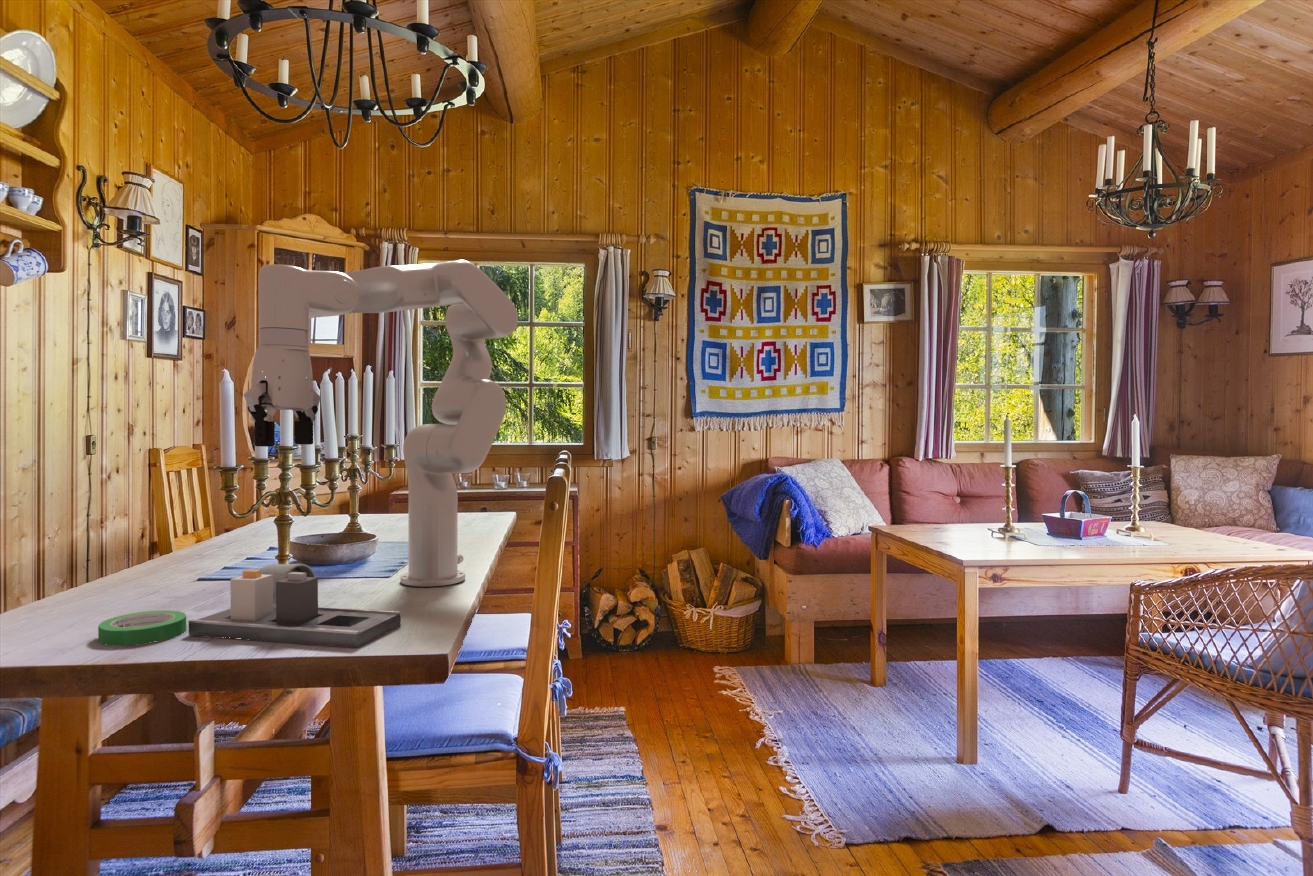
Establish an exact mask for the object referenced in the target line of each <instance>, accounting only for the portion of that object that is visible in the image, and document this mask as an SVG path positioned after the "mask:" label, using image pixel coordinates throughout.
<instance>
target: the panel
mask: <svg viewBox="0 0 1313 876" xmlns="http://www.w3.org/2000/svg"><path fill="white" fill-rule="evenodd" d="M397 627H398V628H399V627H401V611H395V610H382V609H380V610H379V609H368V608H367V609H366V608H364V609H362V608H351V607H350V608H349V607H348V608H346V607H331V606H319V605H318V617H317V618H315V619H312V620H310V621H307V622H305V623H302V624H299V623H284V622H276V604H273V614H272V615H269V616H266V617H263V618H261V619H258V620H255V621H254V620H240V619H231V608H229V609H228V608H227V609H225V610H222V611H219V612H216V613H214V614H210V615H207V616H204V617H201V618H198V619H189V620H188V636H189V637H199V636H209V637H208V638H213V637H221V638H220V639H227V638H229V637H230V638H241V639H249V640H248V641H254V640H255V642H268V641H269V643H283V644H294V645H295V644H297V645H308V646H309V645H311V646H325V647H336V648H337V647H338V648H350V649H351V648H352V649H357V648H360V647H362V646H363V645H366V644H368V643H370V642H371V641H374V640H375V638H376V639H377V637H378V638H379V636H380V637H381V636H384V635H385V633H386V632H388V633H390V632H391V631H394V630H395V628H396V629H397ZM393 629H394V630H393ZM383 634H384V635H383ZM386 634H387V633H386ZM222 637H224V638H222ZM225 637H226V638H225Z"/></svg>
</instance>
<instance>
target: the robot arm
mask: <svg viewBox="0 0 1313 876" xmlns="http://www.w3.org/2000/svg"><path fill="white" fill-rule="evenodd" d="M442 306H443V307H444V306H449V307H448V308H447V310H446V313H445V315H444V317H445V319H444V320H445V327H446V330H447V333H448V335H449V338H450V342H451V346H452V358H451V361H450V363H449V366H448V367H447V369H446V371H445V373H444V376H443V378H442V380H441V382H440V384H439V386H438V388H437V390H436V391H435V394H434V396H433V399H432V403H431V413H432V415H433V418H435V419H436V420H437V421H438V422H440V423H425V424H421V425H419V426H418V425H417V426H416V427H414V428H412V429H411V430H410V431H409V432H408V433H407V435H406V436H405V439H404V441H403V444H402V451H403V452H402V454H403V460H404V465H405V470H406V474H407V475H406V476H407V487H408V489H407V490H408V492H407V493H408V504H407V505H408V507H407V508H408V514H407V515H408V519H407V520H408V521H407V522H408V524H407V525H408V534H407V535H408V538H407V539H408V548H407V549H408V551H407V552H408V571H407V572H405V573H403V574H401V575H400V579H399V580H400V581H399V582H400V583H401V584H403V585H405V586H410V587H421V588H422V587H423V588H424V587H425V588H427V587H432V588H433V587H443V586H450V585H451V586H452V585H456V584H458V583H462V582H463V581H465V579H466V573H465V572H464V571H462V570H460V569H459V570H458V565H459V564H462V563H463V561H464V556H463V555H462V554H459V553H458V534H459V533H458V531H459V530H458V529H459V528H458V520H459V519H458V504H459V503H458V500H459V499H458V496H459V494H458V488H457V485H456V481H455V479H454V476H453V473H454V474H468V473H472V472H474V471H476V470H478V469H479V468H480V467H481V466H482V464H483V463H484V461H485V460H486V459H487V456H488V454H489V452H490V449H491V448H492V445H493V443H494V441H495V439H496V436H497V435H498V432H499V429H500V427H501V425H502V423H503V421H504V418H505V415H506V409H507V400H506V399H507V398H506V395H505V392H504V390H503V388H502V387H501V385H500V384H498V383H497V382H496V381H493V380H492V379H489V378H490V377H491V374H492V368H493V364H492V363H493V362H492V358H491V356H490V353H489V350H488V348H487V346H486V343H485V339H486V340H488V339H489V340H491V339H502V338H506V337H509V336H511V334H513V333H514V332H515V330H516V329H517V327H518V323H519V314H518V311H517V308H516V305H515V303H513V301H512V300H511V299H510V297H509V296H508V295H507V294H506V293H505V292H504V291H503V290H502V289H501V288H500V287H499V286H498V285H497V284H496V283H495V282H494V281H493V280H492V279H491V278H490V276H488V274H486V273H485V272H484V271H483V270H482V269H481V268H479V267H478V266H477V265H475V264H474V263H472V262H470V261H468V260H465V259H457V260H456V259H455V260H450V261H441V262H433V263H419V264H417V263H416V264H403V265H402V264H398V265H396V264H395V265H384V266H375V267H370V268H366V269H361V270H354V271H349V272H340V271H336V270H335V271H334V270H311V269H304V268H302V267H299V266H294V265H290V264H267V265H264V266H262V267H261V268H260V270H259V272H258V347H257V348H256V349H255V353H254V358H253V363H252V371H251V382H250V383H251V384H250V385H251V386H250V389H248V390H247V391H246V392H244V393H243V397H244V399H245V402H246V406H247V411H248V412H249V414H250V415H251V416H250V417H251V421H252V422H253V423H254V446H255V447H271V448H272V447H274V446H275V441H276V439H275V434H276V433H275V430H276V429H275V421H274V420H273V421H272V419H273V417H274V416H275V414H276V412H277V411H278V410H279V411H281V410H284V411H287V410H288V411H292V412H293V414H294V416H295V418H296V419H297V420H294V443H295V445H307V446H308V445H309V446H310V445H313V444H314V422H315V420H316V414H317V413H318V411H319V406H320V402H321V396H320V395H319V394H318V392H316V391H314V378H313V377H314V376H313V368H312V359H311V354H310V319H314V318H324V317H325V318H326V317H337V316H343V315H349V314H351V315H352V314H365V313H366V314H380V313H381V314H382V313H391V312H394V313H395V312H401V311H402V312H403V311H410V310H418V309H427V308H434V307H435V308H436V307H442ZM262 371H263V372H262ZM265 376H266V378H265ZM306 377H307V378H306ZM307 380H308V382H307Z"/></svg>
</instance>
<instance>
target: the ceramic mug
mask: <svg viewBox="0 0 1313 876" xmlns="http://www.w3.org/2000/svg"><path fill="white" fill-rule="evenodd" d="M259 570H261V573H262V574H265V575H273V604H276V582H277V581H280V580H283V579H286V578H288V573H291V572H302V573H307V577H316V575H315V573H314V570H313V569H312V568H311V567H310V566H309V565H307V564H304V563H284V564H283V563H274V564H269V565H265V566H262V567H261V568H259Z"/></svg>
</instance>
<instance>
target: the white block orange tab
mask: <svg viewBox="0 0 1313 876" xmlns="http://www.w3.org/2000/svg"><path fill="white" fill-rule="evenodd" d="M230 609H231V619H240V620H254V621H255V620H258V619H261V618H263V617H266V616H269V615H272V614H273V575H265V574H262V573H261V570H260V569H245V570H242V575H239V576H237V577H233V578H230Z"/></svg>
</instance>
